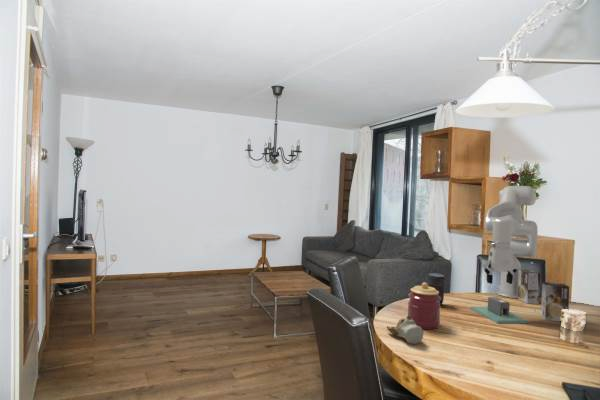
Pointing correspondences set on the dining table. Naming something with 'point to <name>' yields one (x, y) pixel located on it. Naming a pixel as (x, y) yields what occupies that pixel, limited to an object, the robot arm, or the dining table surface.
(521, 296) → the coffee box
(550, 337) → the dining table surface
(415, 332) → the ceramic sculpture
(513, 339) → the dining table surface
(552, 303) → the coffee box
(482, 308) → the header board
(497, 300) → the block
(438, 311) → the canister
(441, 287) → the camera lens
